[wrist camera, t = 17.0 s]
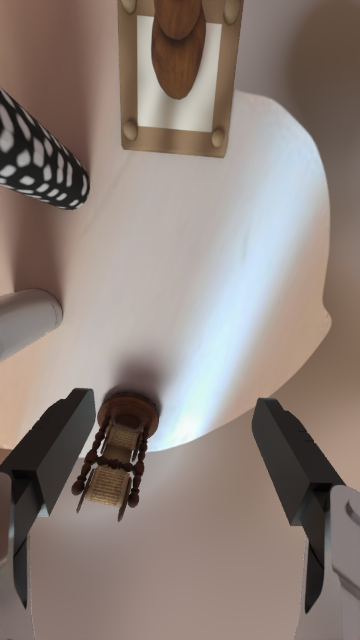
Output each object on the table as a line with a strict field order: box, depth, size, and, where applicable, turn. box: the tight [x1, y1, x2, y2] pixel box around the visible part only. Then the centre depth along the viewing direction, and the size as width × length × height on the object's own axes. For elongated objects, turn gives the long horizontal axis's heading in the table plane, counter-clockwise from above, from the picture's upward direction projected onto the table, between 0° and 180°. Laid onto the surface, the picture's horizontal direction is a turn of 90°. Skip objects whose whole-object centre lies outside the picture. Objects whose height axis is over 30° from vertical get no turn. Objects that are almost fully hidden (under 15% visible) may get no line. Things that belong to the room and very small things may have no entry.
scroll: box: [71, 393, 159, 522], centre depth 39 cm, size 15×15×20 cm
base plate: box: [118, 0, 244, 158], centre depth 26 cm, size 16×16×2 cm
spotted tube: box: [0, 87, 89, 210], centre depth 22 cm, size 8×8×20 cm
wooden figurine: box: [151, 0, 206, 100], centre depth 19 cm, size 7×6×15 cm
